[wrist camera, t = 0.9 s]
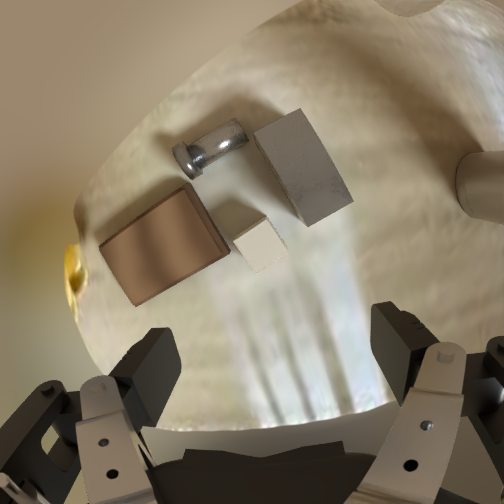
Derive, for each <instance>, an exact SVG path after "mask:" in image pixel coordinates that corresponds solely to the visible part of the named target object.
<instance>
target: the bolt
mask: <svg viewBox="0 0 504 504" xmlns="http://www.w3.org/2000/svg"><path fill="white" fill-rule="evenodd" d="M248 141H249V139H248V138H247V136H246V134H245V132H244V131H243V129H242V127H241V126H240V124H239V123H238V121H237V120H236V118H233V119H232V120H230V121H228V122H226V123H225V124H223V125H221V126H219V127H218V128H216V129H214V130H213V131H211V132H209V133H208V134H206V135H204V136H203V137H201V138H200V139H198V140H196V141H195V142H193V143H192V144H190V145H189V146H187V145H186V144H185V143H184V142H183V141H182V142H181V143H179V144H177V145H176V146H174V147H173V148H172V151H173V154H174V157H175V159H176V161H177V162H178V164H179V166H180V167H181V169H182V170H183V171H184V173H185V174H186V175H187V176H188V177H189V178H190V179H192V180H194V179H195V178H197V177H198V176H200V175H202V174H203V171H202V169H203V168H204V167H206V166H207V165H209V164H211V163H212V162H214V161H216V160H217V159H219V158H221V157H222V156H224V155H226V154H227V153H229V152H231V151H232V150H234V149H236V148H238V147H239V146H241V145H243V144H245V143H246V142H248Z"/></svg>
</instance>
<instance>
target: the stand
mask: <svg viewBox="0 0 504 504" xmlns="http://www.w3.org/2000/svg"><path fill="white" fill-rule="evenodd" d="M99 248H100V249H99V250H100V252H101V254H102V256H103V257H104V259H105V261H106V263H107V264H108V266H109V268H110V269H111V271H112V273H113V274H114V276H115V278H116V279H117V281H118V283H119V284H120V286H121V287H122V289H123V290H124V292H125V294H126V295H127V297H128V298H129V300H130V301H131V303H132V304H133V305H135V307H137V306H139V305H141V304H142V303H144V302H146V301H148V300H149V299H151V298H153V297H155V296H156V295H158V294H160V293H162V292H163V291H165V290H167V289H169V288H170V287H172V286H174V285H176V284H177V283H179V282H181V281H183V280H184V279H186V278H188V277H190V276H191V275H193V274H195V273H197V272H198V271H200V270H202V269H204V268H205V267H207V266H209V265H211V264H213V263H214V262H216V261H218V260H220V259H221V258H223V257H225V256H227V255H228V254H230V252H231V250H230V249H229V247H228V245H227V244H226V242H225V240H224V239H223V237H222V235H221V234H220V232H219V230H218V229H217V227H216V225H215V223H214V222H213V220H212V218H211V217H210V215H209V213H208V212H207V210H206V208H205V207H204V205H203V203H202V202H201V200H200V198H199V196H198V195H197V193H196V191H195V190H194V188H193V186H192V184H191V183H187V184H185V185H184V186H182V187H181V188H179V189H178V190H176V191H175V192H173V193H172V194H170V195H169V196H167V197H166V198H164V199H163V200H161V201H160V202H158V203H157V204H155V205H154V206H153V207H151V208H150V209H148V210H147V211H145V212H144V213H143V214H141V215H140V216H138V217H137V218H136V219H134V220H133V221H131V222H130V223H129V224H127V225H126V226H125V227H123V228H122V229H121V230H119V231H118V232H117V233H115V234H114V235H113V236H111V237H110V238H109V239H107V240H106V241H105V242H103V243H102V244H101V245H100V246H99Z"/></svg>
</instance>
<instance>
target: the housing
mask: <svg viewBox="0 0 504 504" xmlns="http://www.w3.org/2000/svg"><path fill="white" fill-rule="evenodd" d="M253 134H254V139H255V143H256V145H257V146H258V148H259V150H260V151H261V153H262V155H263V156H264V158H265V159H266V161H267V163H268V164H269V166H270V168H271V170H272V171H273V173H274V175H275V176H276V178H277V180H278V181H279V183H280V185H281V187H282V188H283V190H284V192H285V193H286V195H287V197H288V199H289V200H290V202H291V204H292V206H293V207H294V209H295V212H296V213H297V215H298V217H299V219H300V221H301V222H302V223H304V224H305V225H306V226H307V227H309V226H311V225H313V224H314V223H316V222H318V221H320V220H322V219H323V218H325V217H327V216H329V215H330V214H332V213H334V212H336V211H337V210H339V209H341V208H343V207H345V206H346V205H348V204H350V203H352V202H353V199H352V197H351V195H350V193H349V191H348V189H347V187H346V185H345V183H344V181H343V180H342V178H341V176H340V174H339V172H338V170H337V169H336V167H335V165H334V163H333V161H332V160H331V158H330V156H329V154H328V153H327V151H326V149H325V147H324V146H323V144H322V142H321V141H320V139H319V137H318V136H317V134H316V132H315V131H314V129H313V127H312V126H311V124H310V123H309V121H308V119H307V118H306V116H305V115H304V113H303V111H302V110H301V108H299V109H297V110H295V111H293V112H291V113H290V114H288V115H286V116H284V117H282V118H280V119H278V120H276V121H274V122H272V123H270V124H268V125H267V126H265V127H263V128H261V129H259V130H257V131H256V132H254V133H253Z"/></svg>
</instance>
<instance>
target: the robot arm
mask: <svg viewBox="0 0 504 504" xmlns="http://www.w3.org/2000/svg"><path fill="white" fill-rule="evenodd" d="M456 191H457V195H458V199H459V202H460V204H461V206H462V208H463V209H464V211H465V212H466V213H467V214H468V215H470V216H471V217H474V218H477V219H482V220H486V221H490V222H494V223H498V224H502V225H504V151H489V152H478V153H470V154H468V155H466V156H465V157H464V158H463V159H462V160H461V162H460V164H459V166H458V169H457V174H456ZM370 343H371V349H372V353H373V355H374V357H375V359H376V361H377V363H378V364H379V366H380V368H381V370H382V372H383V374H384V376H385V378H386V380H387V382H388V383H389V385H390V387H391V389H392V391H393V393H394V395H395V397H396V399H397V401H398V403H399V405H400V407H402V408H401V410H400V412H399V414H398V416H397V419H396V421H395V423H394V425H393V427H392V429H391V431H390V433H389V435H388V437H387V439H386V441H385V443H384V445H383V447H382V448H381V450H380V452H379V454H378V456H375V455H372V454H368V453H363V452H355V451H344V447H343V442H342V441H338V442H333V443H326V444H319V445H312V446H304V447H300V448H297V449H293V450H290V451H286V452H283V453H279V454H275V455H272V456H268V457H263V458H262V457H261V458H259V457H252V456H246V455H240V454H236V453H231V452H226V451H217V450H215V451H214V450H195V449H194V450H193V449H186V450H185V453H184V456H183V459H179V460H174V461H169V462H166V463H162V464H160V465H157V463H156V461H155V459H154V457H153V455H152V453H151V451H150V448H149V446H148V444H147V442H146V440H145V437H144V435H143V434H142V432H141V429H142V427H143V426H147V427H156V425H157V423H158V420H159V418H160V416H161V414H162V412H163V410H164V408H165V405H166V403H167V401H168V399H169V397H170V395H171V393H172V390H173V388H174V386H175V384H176V382H177V380H178V378H179V376H180V373H181V359H180V356H179V353H178V350H177V346H176V343H175V340H174V336H173V333H172V331H171V329H170V328H168V327H167V328H151V329H150V330H149V332H148V333H147V334H146V335H145V337H144V338H143V339H142V340H140V341H139V342H137V343H136V344H134V345H133V346H132V347H131V348H130V349H129V350H128V351H127V354H125V355H124V356H123V358H122V360H120V361H119V363H118V364H117V365H116V366H115V367H114V369H113V370H112V371H111V372H110V374H109V375H108V376H106V375H102V376H97V377H94V378H91V379H89V380H88V381H86V382H85V383H84V384H83V385H82V387H81V389H80V391H74V392H67V391H66V389H65V388H64V386H63V384H62V382H60V381H57V380H51V381H47V382H44V383H43V384H41V385H39V386H38V387H37V388H36V389H35V390H34V391H33V392H32V393H31V394H30V395H29V396H28V398H27V399H26V400H25V401H24V402H23V403H22V404H21V405H20V406H19V407H18V409H17V410H16V411H15V412H14V413H13V414H12V415H11V417H10V418H9V419H8V420H7V421H6V422H5V423H4V425H3V426H2V427H1V428H0V504H64V502H65V500H66V497H67V496H68V494H69V492H70V490H71V488H72V486H73V484H74V482H75V480H76V478H77V476H78V474H79V472H80V470H81V469H82V473H83V478H84V483H85V487H86V492H87V496H88V500H89V503H88V504H479V503H476V502H474V501H471V500H469V499H466V498H464V497H461V496H459V495H457V494H454V493H452V492H450V491H447V490H445V489H443V488H441V487H440V485H441V482H442V479H443V476H444V474H445V471H446V467H447V465H448V462H449V458H450V455H451V452H452V448H453V445H454V441H455V437H456V433H457V429H458V425H459V420H460V417H464V416H468V418H469V419H470V421H471V423H472V425H473V426H474V428H475V430H476V432H477V433H478V435H479V437H480V439H481V441H482V443H483V445H484V446H485V448H486V450H487V452H488V454H489V456H490V458H491V460H492V462H493V464H494V466H495V468H496V470H497V472H498V474H499V476H500V478H501V480H502V483H503V485H504V336H497V337H494V338H492V339H490V340H489V341H488V343H487V347H486V350H485V352H483V353H475V354H466V351H465V350H464V349H463V348H462V347H461V346H459V345H457V344H455V343H451V342H440V341H439V340H438V339H437V338H436V337H435V336H434V335H433V334H432V333H431V332H430V331H429V330H428V329H427V328H425V326H424V324H423V323H422V322H421V323H420V320H419V319H418V318H417V317H416V316H415V315H413V314H411V313H409V312H407V311H400V310H399V309H398V308H397V307H396V306H395V305H394V304H393V303H392V302H391V301H388V302H383V303H377V304H373V305H372V308H371V336H370ZM51 425H52V427H53V428H54V430H55V431H56V433H57V434H58V435H59V438H58V439H57V441H56V442H55V444H54V445H53V447H52V448H51V450H50V451H49V453H48V454H46V453H45V452H44V450H43V449H42V446H41V439H42V437H43V435H44V434H45V433H46V431H47V430H48V428H49V427H50V426H51ZM500 502H501V503H500V504H504V487H503V489H502V491H501V495H500Z"/></svg>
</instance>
